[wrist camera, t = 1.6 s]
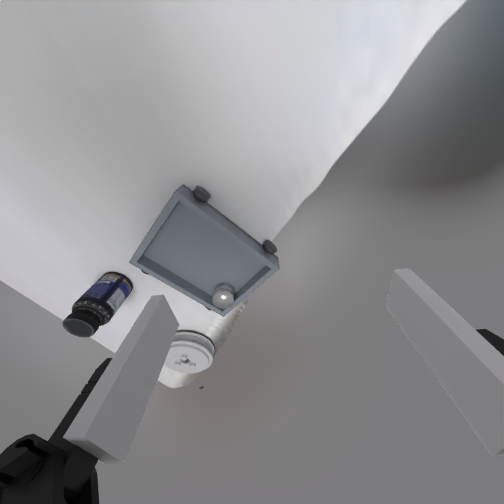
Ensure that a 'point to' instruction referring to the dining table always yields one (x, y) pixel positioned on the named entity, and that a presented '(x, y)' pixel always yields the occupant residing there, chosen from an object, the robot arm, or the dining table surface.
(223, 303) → the metal part
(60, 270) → the dining table surface
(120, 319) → the dining table surface
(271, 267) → the cart
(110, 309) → the pill bottle
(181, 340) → the lid
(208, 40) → the dining table surface
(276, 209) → the dining table surface
